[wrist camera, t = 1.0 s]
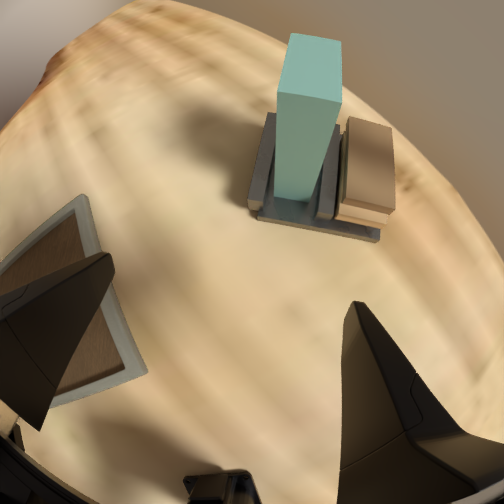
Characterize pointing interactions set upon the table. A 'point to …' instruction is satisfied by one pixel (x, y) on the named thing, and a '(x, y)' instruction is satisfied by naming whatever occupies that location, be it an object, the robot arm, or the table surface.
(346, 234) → the rack
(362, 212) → the offcut middle
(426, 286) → the table surface
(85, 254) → the picture frame
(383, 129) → the offcut top
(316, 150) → the teal rectangular block
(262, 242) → the table surface
